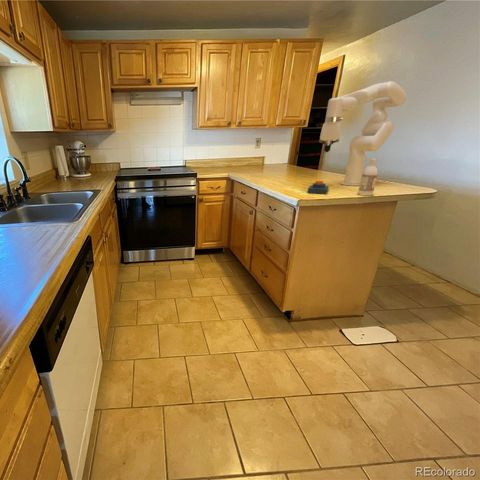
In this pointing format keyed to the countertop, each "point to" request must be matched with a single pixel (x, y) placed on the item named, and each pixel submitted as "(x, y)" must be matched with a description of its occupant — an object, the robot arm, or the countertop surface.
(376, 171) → the bath foam
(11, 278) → the countertop surface
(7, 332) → the countertop surface
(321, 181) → the nozzle
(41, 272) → the countertop surface
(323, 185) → the dispenser
